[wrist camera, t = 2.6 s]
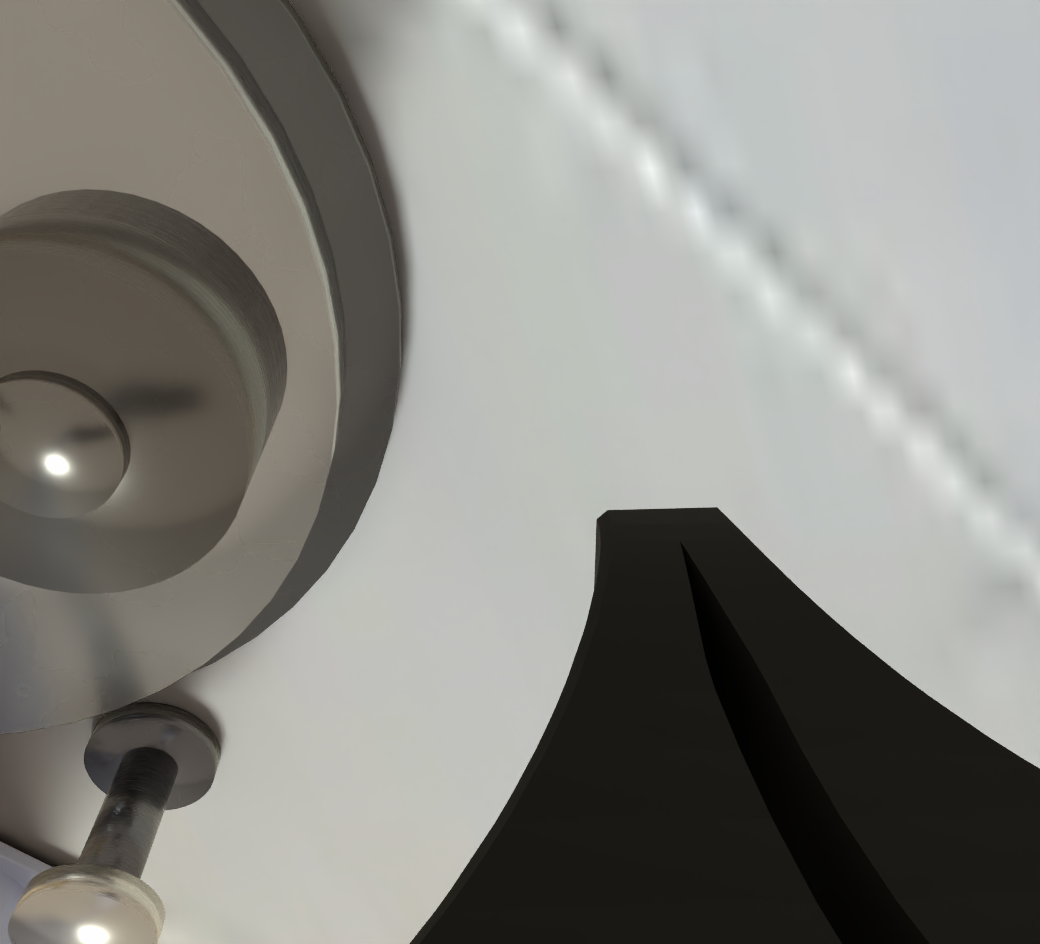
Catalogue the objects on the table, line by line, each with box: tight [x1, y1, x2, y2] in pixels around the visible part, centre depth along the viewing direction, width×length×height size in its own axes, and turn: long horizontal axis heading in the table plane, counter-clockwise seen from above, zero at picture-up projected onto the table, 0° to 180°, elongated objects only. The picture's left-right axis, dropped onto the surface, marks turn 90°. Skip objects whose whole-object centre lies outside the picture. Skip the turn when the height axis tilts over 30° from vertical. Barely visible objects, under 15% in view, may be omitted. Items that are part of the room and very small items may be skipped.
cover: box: [0, 189, 287, 594], centre depth 15 cm, size 6×6×4 cm
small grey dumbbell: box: [8, 703, 220, 944], centre depth 23 cm, size 3×3×5 cm
